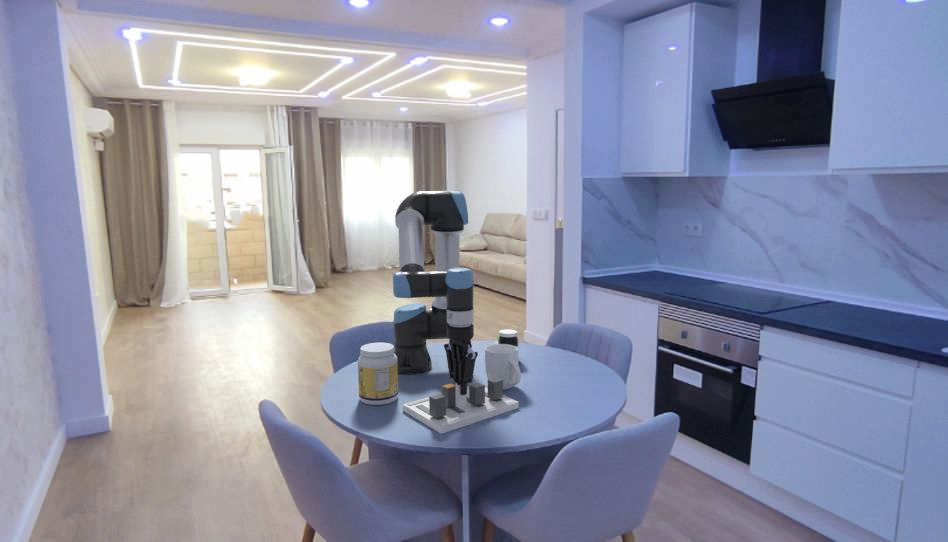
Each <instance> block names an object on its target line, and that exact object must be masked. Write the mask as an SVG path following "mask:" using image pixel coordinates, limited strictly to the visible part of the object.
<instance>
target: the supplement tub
mask: <svg viewBox="0 0 948 542" xmlns="http://www.w3.org/2000/svg"><path fill="white" fill-rule="evenodd" d="M394 348H395V344H394V345H393V343H388V342H370V343H366V344H363V345H361V347H360V352H359V354H360V355H359V357H358V360H357V370H358V371H357V373H358V374H357V375H358V376H357V377H358V378H357V379H358V397H359V400H360V401H361V403H363V404H366V405H370V406H383V405H387V404H391V403H393V402H394V401H396V400H397V399H398V398H399V397H398V396H399V376H398V375H399V373H398V364H397V356H396V355H395V354H394V352H395V350H394Z"/></svg>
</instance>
